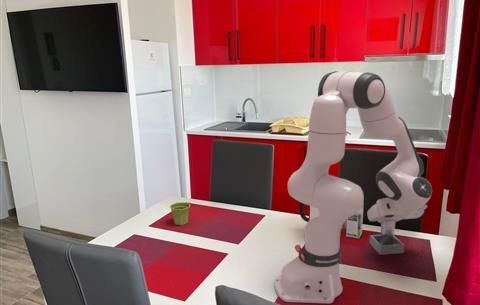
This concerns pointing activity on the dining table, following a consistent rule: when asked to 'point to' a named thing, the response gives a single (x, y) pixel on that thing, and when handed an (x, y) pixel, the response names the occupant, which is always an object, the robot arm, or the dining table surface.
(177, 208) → the plant pot
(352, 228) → the syrup box
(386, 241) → the tube
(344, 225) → the small box
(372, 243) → the socket
